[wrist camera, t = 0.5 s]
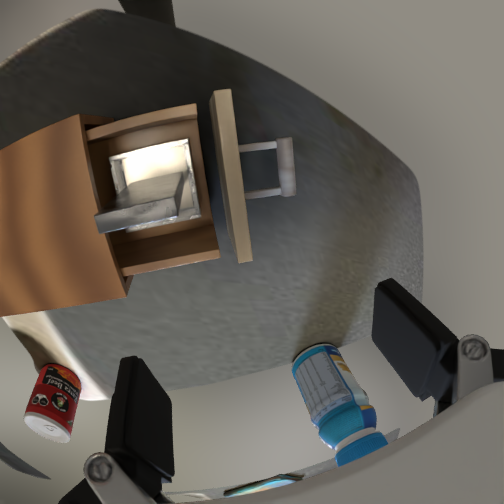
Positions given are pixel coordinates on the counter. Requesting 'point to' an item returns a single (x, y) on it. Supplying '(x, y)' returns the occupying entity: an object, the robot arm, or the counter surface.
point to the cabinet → (53, 223)
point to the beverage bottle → (337, 404)
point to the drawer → (229, 167)
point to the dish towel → (263, 485)
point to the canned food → (53, 403)
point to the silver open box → (151, 188)
